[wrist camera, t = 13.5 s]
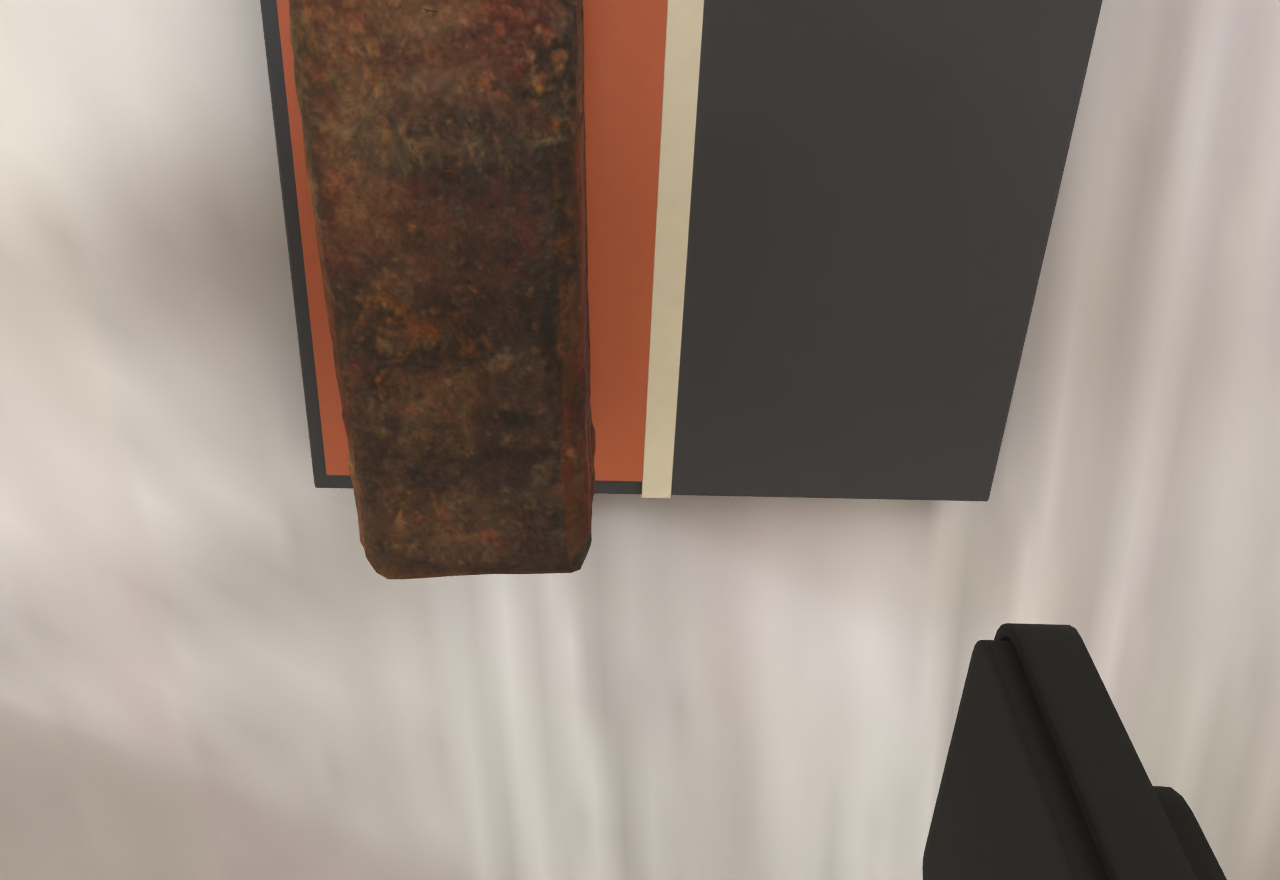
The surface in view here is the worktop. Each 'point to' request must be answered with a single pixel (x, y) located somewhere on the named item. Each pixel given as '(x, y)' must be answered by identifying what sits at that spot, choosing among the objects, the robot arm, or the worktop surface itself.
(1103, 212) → the worktop surface
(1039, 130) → the board
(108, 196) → the worktop surface
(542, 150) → the brick
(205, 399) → the worktop surface
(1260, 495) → the worktop surface
